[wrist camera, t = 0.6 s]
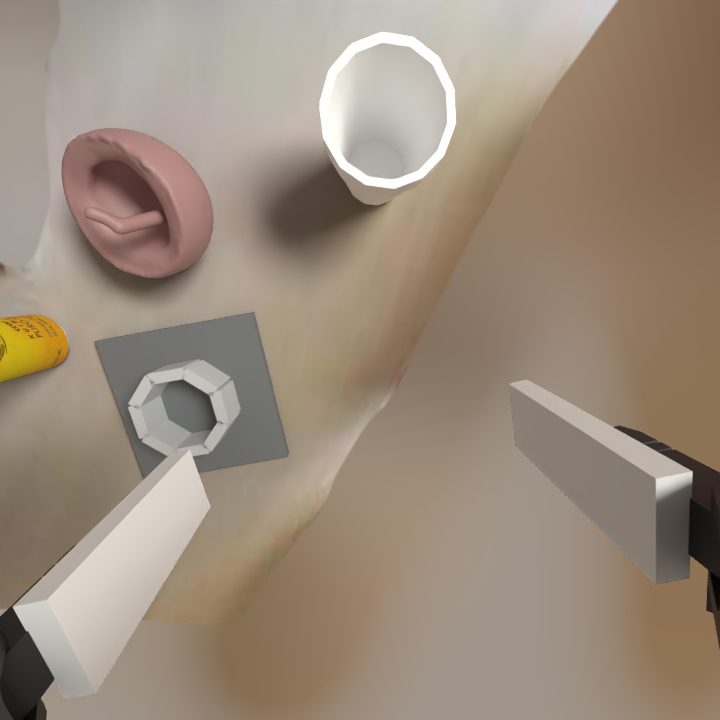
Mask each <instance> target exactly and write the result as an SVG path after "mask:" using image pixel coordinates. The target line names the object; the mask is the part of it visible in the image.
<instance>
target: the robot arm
mask: <svg viewBox="0 0 720 720" xmlns="http://www.w3.org/2000/svg"><path fill="white" fill-rule="evenodd" d="M509 392H510V402H511V411H512V420H513V429H514V439H515V445H516V447H517V448H518V449H519V450H520V451H521V452H523V454H524V455H525V456H526V457H528V459H529V460H531V461H532V462H533V463H534V464H535V465H536V466H537V467H538V468H539V469H540V470H541V471H542V472H543V473H544V474H545V475H546V476H547V477H548V478H549V479H550V480H551V481H552V482H553V483H554V484H555V485H556V486H557V487H558V488H559V489H560V490H561V491H562V492H563V493H564V494H565V495H566V496H567V497H568V498H569V499H570V500H571V501H572V502H573V503H574V504H575V505H576V506H577V507H578V508H579V509H580V510H581V511H582V512H583V513H584V514H585V515H586V516H587V517H588V518H589V519H590V520H591V521H592V522H593V523H594V524H595V525H596V526H597V527H598V528H599V529H600V530H601V531H602V532H603V533H604V534H605V535H606V536H607V537H608V538H609V539H610V540H611V541H612V542H613V543H614V544H615V545H616V546H617V547H618V548H619V549H620V550H622V552H623V553H624V554H625V555H626V556H627V557H628V558H629V559H630V560H632V562H633V563H634V564H636V565H637V567H638V568H639V569H640V570H641V571H642V572H644V573H645V574H646V575H647V576H648V577H649V578H650V579H651V580H652V581H653V582H654V583H655V584H656V585H657V584H661V583H667V582H672V581H677V580H683V579H688V578H689V577H690V574H689V573H690V556H692V557H693V558H694V559H695V560H697V561H698V562H699V563H700V564H702V565H703V566H704V567H705V568H707V569H708V585H707V607H706V610H707V611H709V612H712V613H713V615H714V620H715V625H716V631H717V637H718V642H719V647H720V473H719V472H718V471H716V470H714V469H712V468H710V467H708V466H706V465H704V464H702V463H700V462H698V461H696V460H694V459H692V458H690V457H688V456H687V455H685V454H683V453H681V452H679V451H677V450H672V448H671V447H669V446H667V445H665V444H663V443H661V442H659V443H658V441H657V440H656V439H654V438H652V437H650V436H648V435H646V434H644V433H642V432H640V431H636V430H633V429H629V428H626V427H623V426H616V427H612V426H610V425H608V424H606V423H604V422H603V421H601V420H599V419H597V418H595V417H593V416H592V415H590V414H588V413H586V412H585V411H583V410H581V409H579V408H577V407H575V406H574V405H572V404H570V403H568V402H567V401H565V400H563V399H561V398H559V397H558V396H556V395H554V394H552V393H550V392H549V391H547V390H545V389H543V388H541V387H540V386H538V385H536V384H534V383H532V382H531V381H529V380H524V381H519V382H514V383H510V384H509ZM209 508H210V504H209V501H208V499H207V496H206V493H205V490H204V488H203V485H202V482H201V479H200V476H199V474H198V471H197V468H196V465H195V462H194V460H193V457H192V454H191V451H190V449H188V450H183V451H178V452H173V453H171V454H170V455H169V456H168V457H167V458H166V459H165V460H164V461H163V462H162V463H161V464H159V465H158V466H157V467H156V468H155V469H154V470H153V471H152V472H151V473H150V474H149V475H148V476H147V477H146V478H145V479H144V480H143V481H142V482H141V483H140V484H139V485H138V486H137V487H136V488H135V489H134V490H133V491H132V492H131V493H130V494H128V495H127V496H126V497H125V498H124V499H123V500H122V501H121V502H120V503H119V504H118V505H117V506H116V507H115V508H114V509H113V510H112V511H111V512H110V513H109V514H108V515H107V516H106V517H105V518H104V519H103V520H102V521H101V522H100V523H99V524H98V525H96V526H95V527H94V528H93V529H92V530H91V531H90V532H89V533H88V534H87V535H86V536H85V537H84V538H83V539H82V540H81V541H80V542H79V543H78V544H76V545H75V546H73V547H72V548H71V549H70V550H69V551H68V552H67V553H66V554H65V555H64V556H63V557H62V558H61V559H60V560H59V561H58V562H57V564H56V565H53V566H52V567H51V568H50V569H49V570H48V571H47V572H46V573H45V574H44V577H43V578H40V579H39V580H38V581H37V582H36V583H35V584H34V585H33V586H32V587H31V588H30V589H28V590H27V591H26V592H25V593H24V594H23V595H22V596H21V597H20V598H19V599H18V600H17V601H16V602H15V603H14V604H13V605H12V606H11V607H10V608H9V609H8V610H7V611H6V612H5V613H4V614H2V615H1V616H0V720H46V714H47V711H46V708H45V705H44V703H43V701H42V700H41V697H42V696H43V694H44V693H45V691H46V690H47V689H48V687H49V686H50V685H51V683H52V682H53V681H54V682H55V683H56V685H57V687H58V689H59V690H60V692H61V694H62V696H63V698H64V699H68V698H74V697H79V696H84V695H89V694H95V693H96V692H97V691H98V689H99V688H100V686H101V684H102V683H103V681H104V680H105V678H106V676H107V675H108V673H109V671H110V670H111V668H112V667H113V665H114V663H115V662H116V660H117V658H118V657H119V655H120V653H121V652H122V650H123V649H124V647H125V645H126V643H127V642H128V640H129V639H130V637H131V635H132V634H133V632H134V631H135V629H136V627H137V625H138V624H139V623H140V621H141V619H142V618H143V616H144V614H145V613H146V611H147V609H148V608H149V606H150V605H151V603H152V601H153V600H154V598H155V596H156V595H157V593H158V592H159V590H160V588H161V587H162V585H163V583H164V582H165V580H166V579H167V577H168V575H169V574H170V572H171V570H172V569H173V567H174V565H175V564H176V562H177V561H178V559H179V557H180V556H181V554H182V552H183V551H184V549H185V548H186V546H187V544H188V543H189V541H190V539H191V538H192V536H193V535H194V533H195V531H196V530H197V528H198V526H199V525H200V523H201V521H202V520H203V518H204V517H205V515H206V513H207V512H208V510H209Z"/></svg>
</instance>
